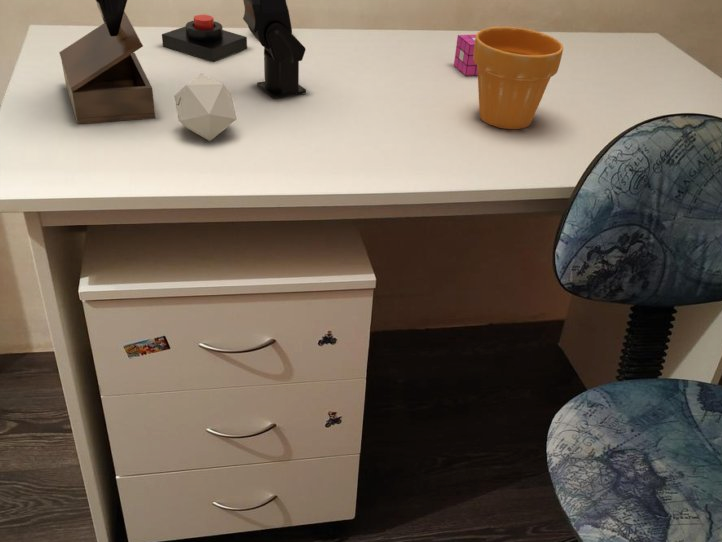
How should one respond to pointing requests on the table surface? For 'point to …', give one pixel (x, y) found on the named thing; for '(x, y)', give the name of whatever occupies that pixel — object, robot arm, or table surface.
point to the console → (204, 41)
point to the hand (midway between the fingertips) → (110, 29)
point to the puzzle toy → (465, 55)
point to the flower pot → (513, 73)
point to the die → (205, 107)
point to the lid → (98, 52)
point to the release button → (203, 22)
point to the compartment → (114, 94)
